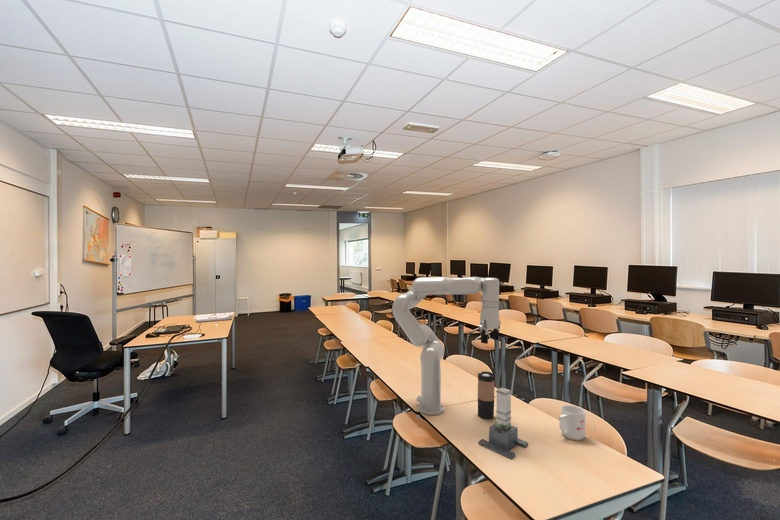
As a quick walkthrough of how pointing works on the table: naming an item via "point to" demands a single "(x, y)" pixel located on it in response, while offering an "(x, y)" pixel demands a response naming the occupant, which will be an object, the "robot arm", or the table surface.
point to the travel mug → (486, 395)
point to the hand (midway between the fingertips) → (490, 341)
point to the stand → (503, 441)
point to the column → (503, 409)
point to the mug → (572, 422)
